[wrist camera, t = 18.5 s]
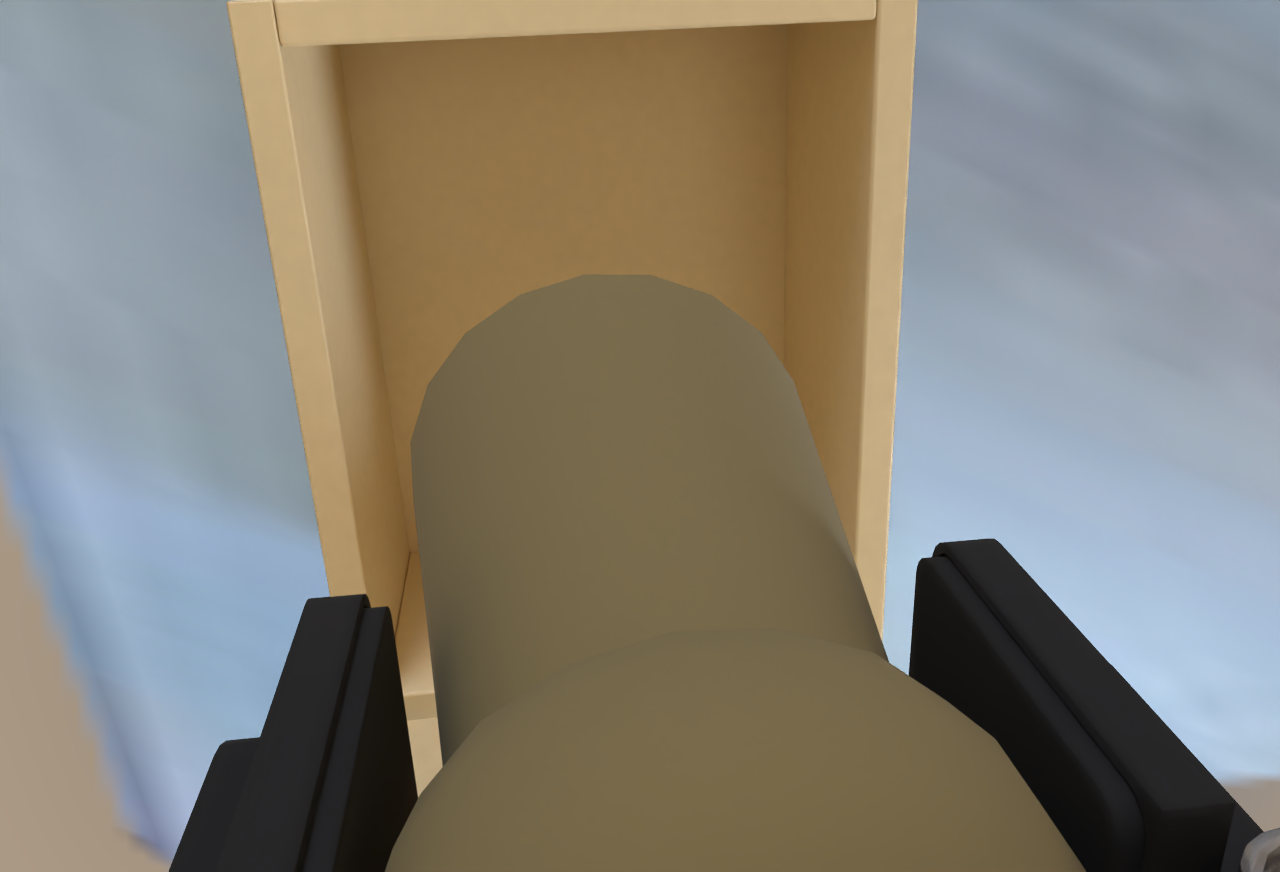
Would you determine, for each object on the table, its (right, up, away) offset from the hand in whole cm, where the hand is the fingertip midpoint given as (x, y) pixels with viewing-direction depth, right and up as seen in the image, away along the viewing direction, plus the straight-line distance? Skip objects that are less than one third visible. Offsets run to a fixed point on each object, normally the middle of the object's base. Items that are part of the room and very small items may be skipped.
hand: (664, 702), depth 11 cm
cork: (-1, +2, +6) cm, 6 cm away
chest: (-2, +7, +19) cm, 20 cm away
